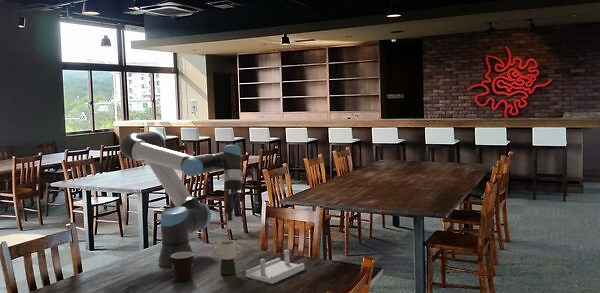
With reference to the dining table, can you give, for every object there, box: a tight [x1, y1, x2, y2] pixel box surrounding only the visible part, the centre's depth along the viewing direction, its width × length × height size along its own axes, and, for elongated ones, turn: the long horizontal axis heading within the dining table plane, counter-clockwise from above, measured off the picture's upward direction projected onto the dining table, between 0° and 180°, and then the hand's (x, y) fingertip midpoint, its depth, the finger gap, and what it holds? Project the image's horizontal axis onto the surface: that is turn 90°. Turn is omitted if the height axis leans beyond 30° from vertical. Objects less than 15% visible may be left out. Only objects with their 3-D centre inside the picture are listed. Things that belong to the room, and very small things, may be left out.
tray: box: [245, 249, 305, 284], centre depth 214 cm, size 14×20×8 cm
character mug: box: [213, 239, 242, 275], centre depth 215 cm, size 11×7×13 cm, turn 90°
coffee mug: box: [171, 252, 194, 284], centre depth 210 cm, size 12×9×10 cm
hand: (234, 230), depth 222 cm, fingers open, 13 cm apart
